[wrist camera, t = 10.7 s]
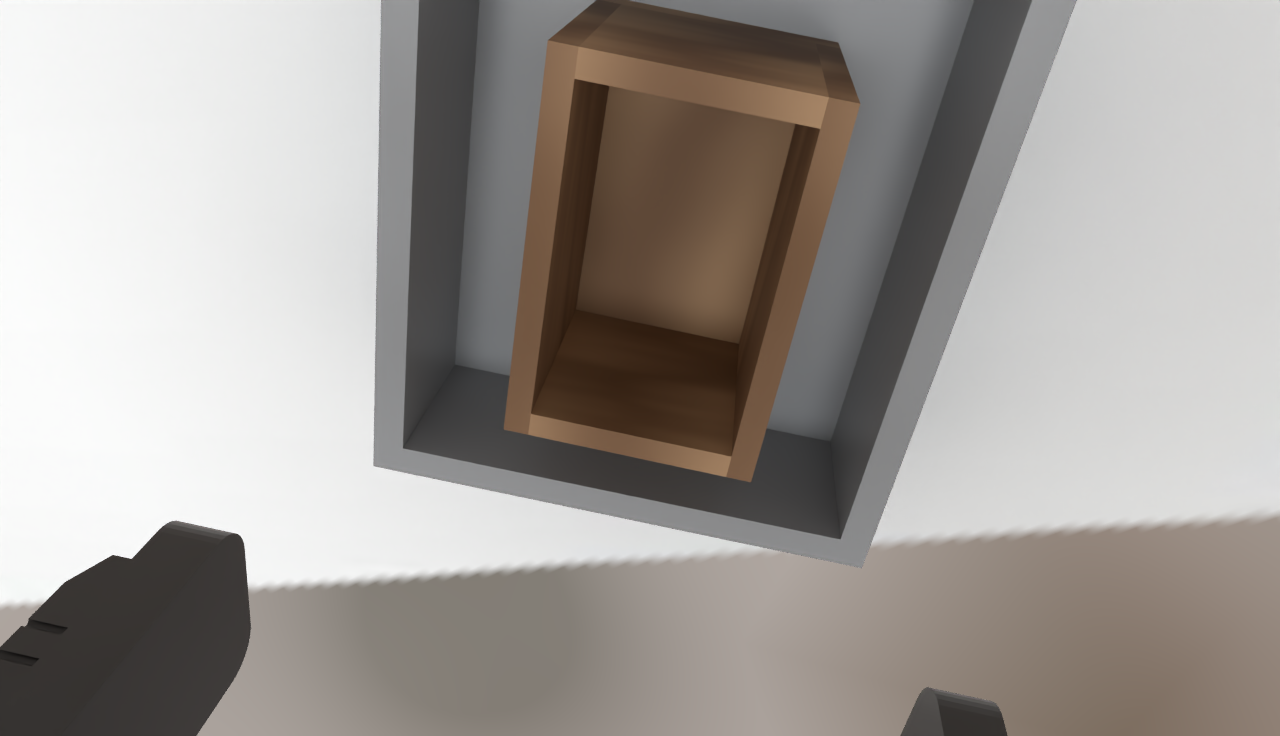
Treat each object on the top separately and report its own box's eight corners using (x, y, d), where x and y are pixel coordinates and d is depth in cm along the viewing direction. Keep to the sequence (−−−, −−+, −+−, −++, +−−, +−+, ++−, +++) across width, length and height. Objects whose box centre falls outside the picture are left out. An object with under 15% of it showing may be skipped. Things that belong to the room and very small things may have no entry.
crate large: (1026, -77, 22) (1098, -58, 17) (847, 452, 29) (861, 568, 25) (468, -181, 22) (384, -192, 17) (436, 368, 30) (373, 465, 25)
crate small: (838, 42, 23) (860, 103, 17) (754, 352, 27) (750, 482, 22) (602, -5, 23) (547, 40, 17) (558, 311, 27) (503, 429, 22)
